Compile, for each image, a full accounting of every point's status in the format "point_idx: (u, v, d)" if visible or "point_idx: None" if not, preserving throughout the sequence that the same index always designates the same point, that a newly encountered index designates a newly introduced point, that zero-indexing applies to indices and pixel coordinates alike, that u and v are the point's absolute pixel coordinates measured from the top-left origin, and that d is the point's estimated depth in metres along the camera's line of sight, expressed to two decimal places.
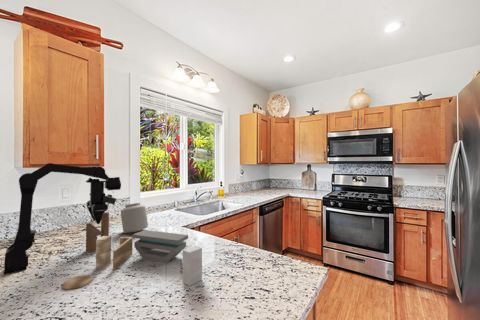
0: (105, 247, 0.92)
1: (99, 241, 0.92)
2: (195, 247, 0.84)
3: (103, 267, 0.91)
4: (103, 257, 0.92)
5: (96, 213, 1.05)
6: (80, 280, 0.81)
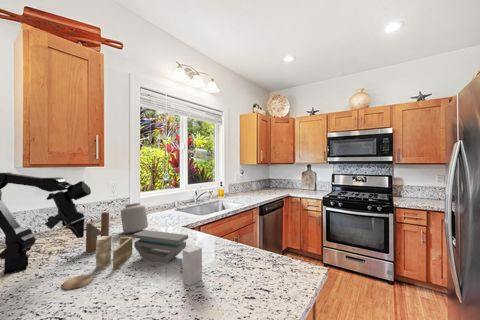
0: (105, 247, 0.92)
1: (99, 241, 0.92)
2: (195, 247, 0.84)
3: (103, 267, 0.91)
4: (103, 257, 0.92)
5: None
6: (80, 280, 0.81)
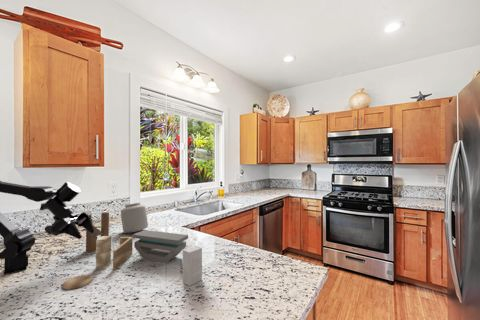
0: (105, 247, 0.92)
1: (99, 241, 0.92)
2: (195, 247, 0.84)
3: (103, 267, 0.91)
4: (103, 257, 0.92)
5: None
6: (80, 280, 0.81)
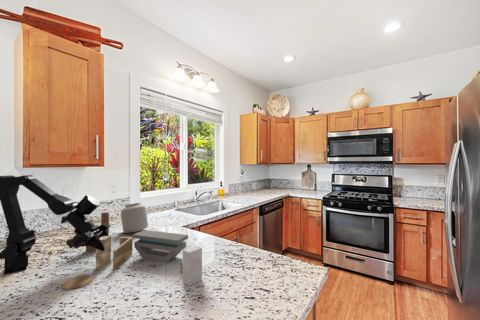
0: (105, 247, 0.92)
1: None
2: (195, 247, 0.84)
3: (103, 267, 0.91)
4: (103, 257, 0.92)
5: None
6: (80, 280, 0.81)
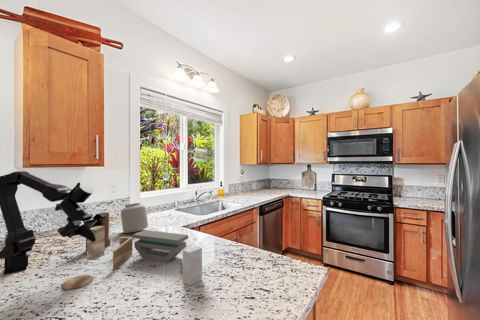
0: (96, 238, 0.87)
1: None
2: (195, 247, 0.84)
3: (94, 258, 0.86)
4: (94, 248, 0.86)
5: None
6: (80, 280, 0.81)
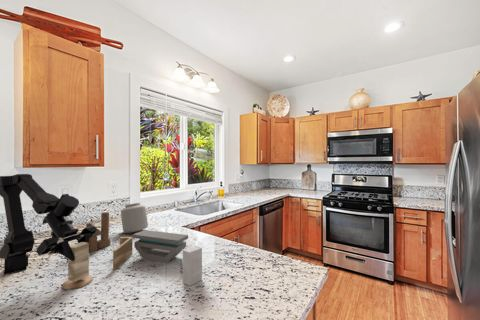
0: (76, 257, 0.78)
1: None
2: (195, 247, 0.84)
3: (74, 280, 0.78)
4: (74, 268, 0.78)
5: None
6: (80, 280, 0.81)
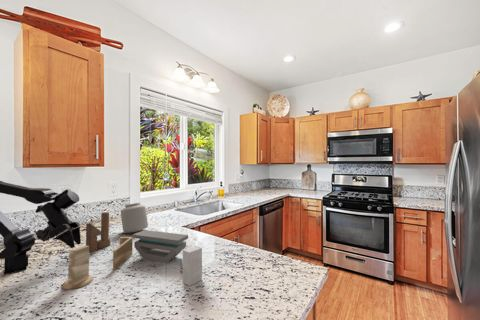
0: (76, 260, 0.78)
1: (71, 252, 0.79)
2: (195, 247, 0.84)
3: (74, 283, 0.78)
4: (74, 271, 0.78)
5: None
6: None
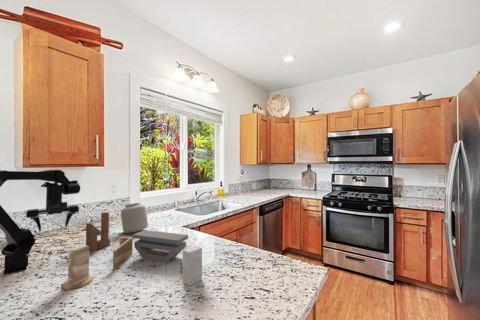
0: (76, 260, 0.78)
1: (71, 252, 0.79)
2: (195, 247, 0.84)
3: (74, 283, 0.78)
4: (74, 271, 0.78)
5: None
6: None
